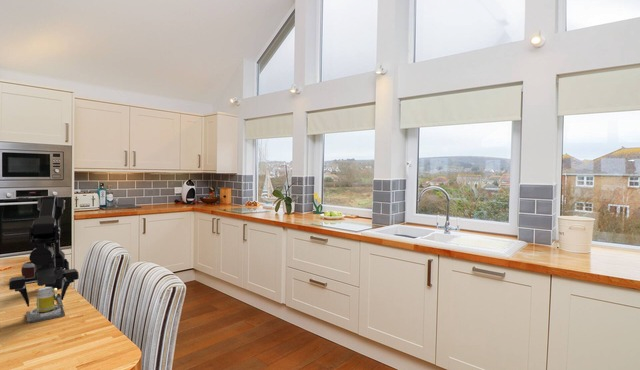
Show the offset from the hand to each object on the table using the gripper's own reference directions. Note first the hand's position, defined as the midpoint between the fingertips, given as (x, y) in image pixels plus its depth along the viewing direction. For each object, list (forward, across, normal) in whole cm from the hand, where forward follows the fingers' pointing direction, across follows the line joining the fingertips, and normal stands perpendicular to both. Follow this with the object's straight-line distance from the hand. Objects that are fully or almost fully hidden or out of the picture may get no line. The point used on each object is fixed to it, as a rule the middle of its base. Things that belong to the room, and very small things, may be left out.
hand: (45, 303), depth 123 cm
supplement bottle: (+4, 0, 0) cm, 4 cm away
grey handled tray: (+4, 0, +8) cm, 9 cm away
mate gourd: (+4, -2, +53) cm, 53 cm away
